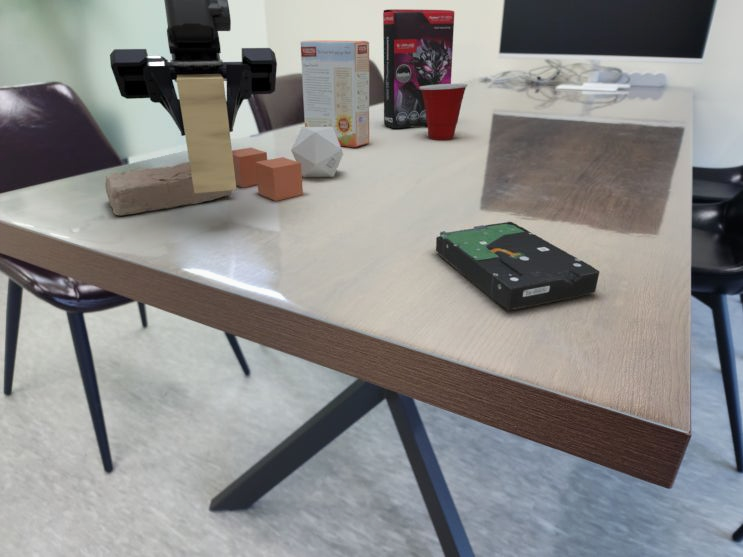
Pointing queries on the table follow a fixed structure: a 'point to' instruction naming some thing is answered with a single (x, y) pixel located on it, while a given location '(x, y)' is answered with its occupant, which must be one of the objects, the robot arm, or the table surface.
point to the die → (317, 151)
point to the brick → (154, 189)
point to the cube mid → (279, 178)
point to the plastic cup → (442, 108)
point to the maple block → (207, 132)
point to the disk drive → (516, 265)
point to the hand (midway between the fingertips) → (207, 130)
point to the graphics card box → (414, 61)
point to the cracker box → (337, 88)
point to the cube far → (247, 165)
